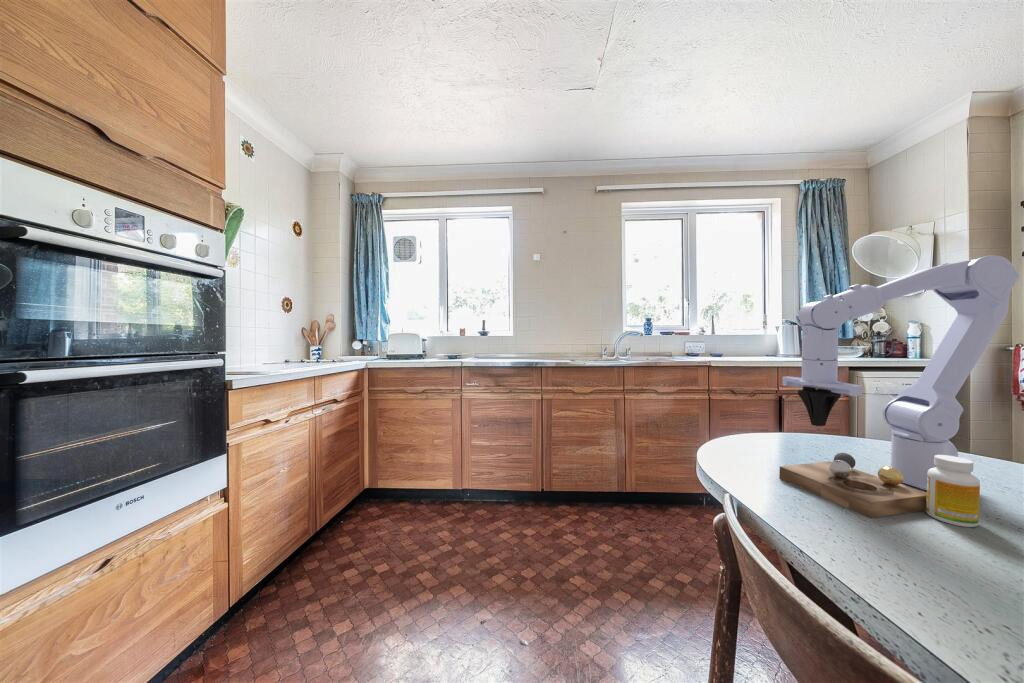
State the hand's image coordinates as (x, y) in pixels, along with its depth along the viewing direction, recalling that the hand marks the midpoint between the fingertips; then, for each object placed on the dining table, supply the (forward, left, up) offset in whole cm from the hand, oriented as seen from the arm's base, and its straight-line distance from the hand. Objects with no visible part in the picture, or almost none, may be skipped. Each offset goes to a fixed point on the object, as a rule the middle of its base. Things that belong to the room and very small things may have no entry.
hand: (818, 425), depth 77 cm
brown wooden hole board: (+3, +8, -10) cm, 13 cm away
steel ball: (+4, +7, -6) cm, 10 cm away
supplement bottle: (-2, +19, -11) cm, 22 cm away
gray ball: (-1, +4, -6) cm, 8 cm away
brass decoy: (-1, +12, -6) cm, 13 cm away
